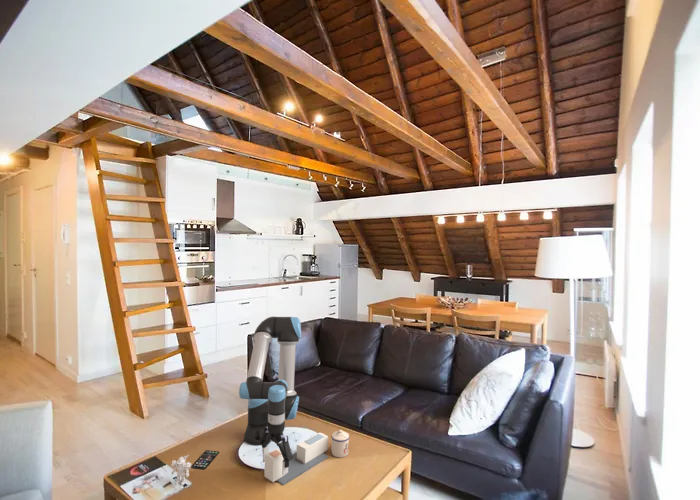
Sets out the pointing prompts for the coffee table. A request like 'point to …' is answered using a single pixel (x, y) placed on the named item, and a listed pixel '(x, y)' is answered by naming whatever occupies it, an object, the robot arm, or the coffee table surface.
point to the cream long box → (312, 447)
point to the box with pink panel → (273, 465)
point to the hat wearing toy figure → (181, 469)
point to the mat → (299, 468)
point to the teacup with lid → (340, 443)
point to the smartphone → (205, 459)
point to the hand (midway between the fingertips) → (275, 467)
